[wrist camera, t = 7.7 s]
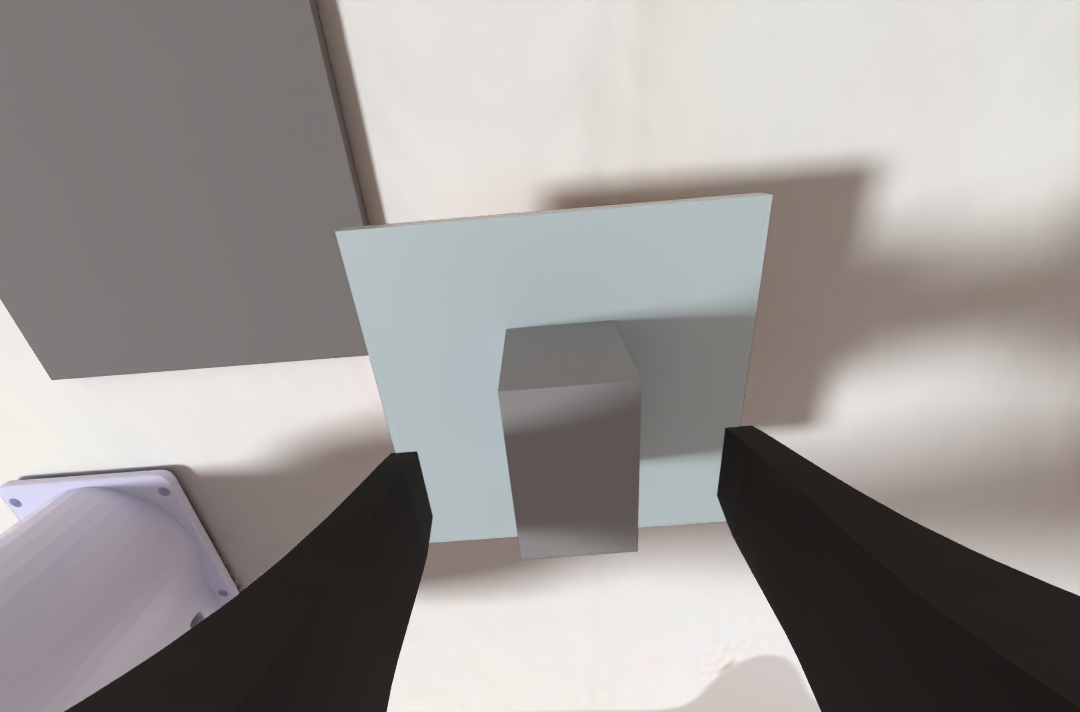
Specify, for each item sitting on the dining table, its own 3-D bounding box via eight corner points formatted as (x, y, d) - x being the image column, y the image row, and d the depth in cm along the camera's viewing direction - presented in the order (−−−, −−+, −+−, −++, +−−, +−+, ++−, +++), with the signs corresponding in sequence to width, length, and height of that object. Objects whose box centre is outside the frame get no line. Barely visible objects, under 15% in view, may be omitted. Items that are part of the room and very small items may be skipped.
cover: (720, 508, 16) (776, 616, 12) (423, 530, 16) (392, 642, 13) (761, 192, 11) (872, 213, 8) (343, 227, 12) (257, 265, 8)
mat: (397, 348, 18) (394, 353, 18) (63, 374, 18) (51, 379, 18) (288, -115, 12) (278, -126, 12) (-209, -69, 12) (-237, -77, 12)
